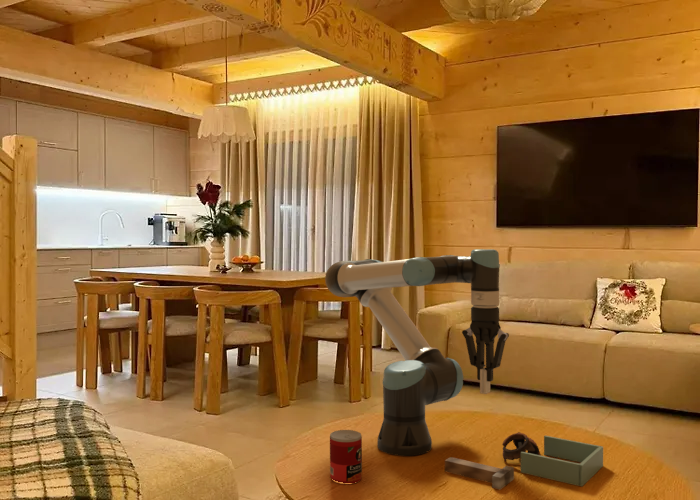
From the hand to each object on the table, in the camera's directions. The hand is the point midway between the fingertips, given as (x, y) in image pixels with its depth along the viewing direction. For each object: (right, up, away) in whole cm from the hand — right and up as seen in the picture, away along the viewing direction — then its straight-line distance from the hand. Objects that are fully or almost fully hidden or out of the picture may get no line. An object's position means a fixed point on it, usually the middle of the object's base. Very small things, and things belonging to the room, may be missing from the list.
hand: (485, 392), depth 177 cm
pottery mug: (+8, -17, -6) cm, 20 cm away
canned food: (-38, -18, -18) cm, 45 cm away
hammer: (-6, -17, -17) cm, 25 cm away
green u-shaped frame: (+17, -17, -12) cm, 27 cm away
